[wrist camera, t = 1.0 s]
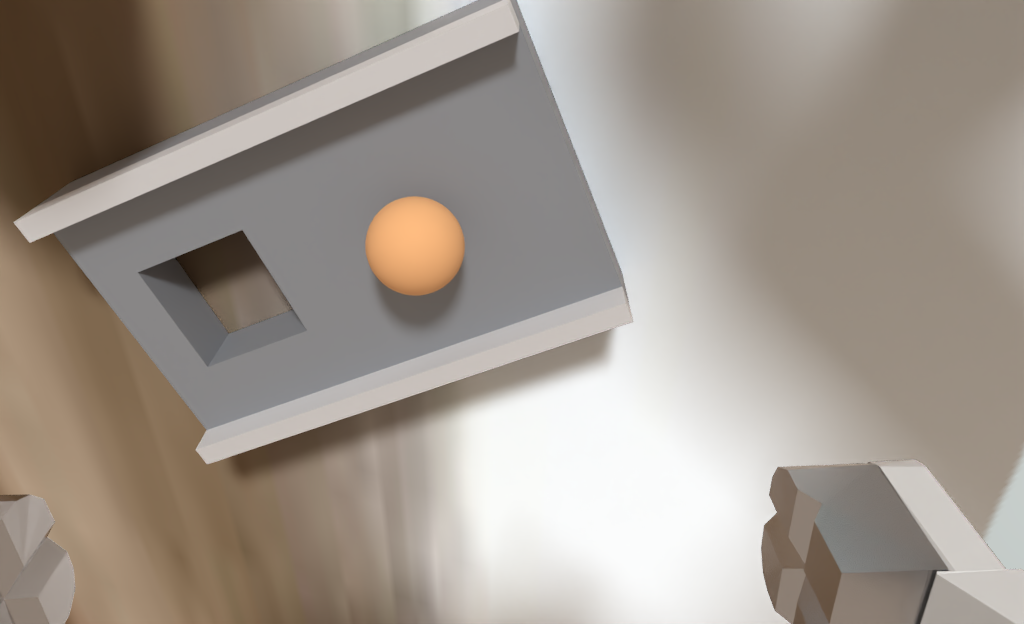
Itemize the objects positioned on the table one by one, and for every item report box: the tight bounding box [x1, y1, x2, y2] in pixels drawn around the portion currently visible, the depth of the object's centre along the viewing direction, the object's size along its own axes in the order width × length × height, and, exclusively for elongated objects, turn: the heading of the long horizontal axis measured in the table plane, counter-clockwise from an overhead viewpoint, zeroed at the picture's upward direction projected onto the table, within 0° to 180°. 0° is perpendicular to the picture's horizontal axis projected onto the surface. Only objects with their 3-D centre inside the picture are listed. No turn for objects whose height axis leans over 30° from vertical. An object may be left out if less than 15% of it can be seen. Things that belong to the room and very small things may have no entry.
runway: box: [13, 0, 633, 464], centre depth 34 cm, size 22×14×4 cm, turn 113°
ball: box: [365, 196, 465, 296], centre depth 31 cm, size 4×4×4 cm
